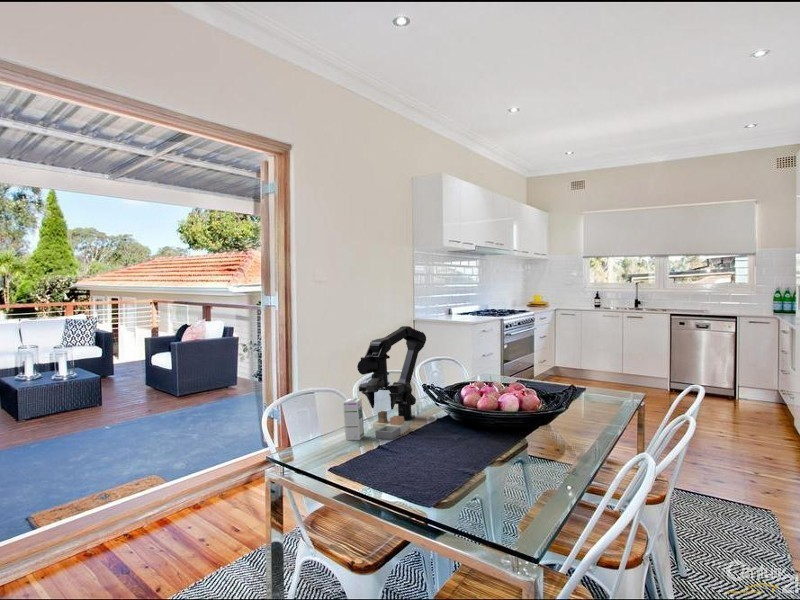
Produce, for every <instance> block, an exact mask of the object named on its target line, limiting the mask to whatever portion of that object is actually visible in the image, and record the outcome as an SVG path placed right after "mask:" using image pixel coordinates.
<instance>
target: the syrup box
mask: <svg viewBox="0 0 800 600" xmlns="http://www.w3.org/2000/svg"><path fill="white" fill-rule="evenodd" d="M362 401H363V400H362V398H359V397H358V398H347V400H345V401H343V402H342V407H343V417H344V418H343V420H344V433H345V435H344V436H345V441H360V440H361V439H362V438H363V437H364V436H365V430H364V429H365V428H364V414H363V402H362Z"/></svg>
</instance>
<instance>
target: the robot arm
mask: <svg viewBox="0 0 800 600" xmlns="http://www.w3.org/2000/svg"><path fill="white" fill-rule="evenodd" d="M403 339H404V340H405V341H406V342H405V343H406V344H405V345H406V348H407V349H406V350H407V351H406V355H405V358H404V362H403V365H402V370H401V373H400V376H399V379H398V380H397V382H395V381H394V382H393V383H392V384H390V383H391V382H390V381H388V379H389V378H388V376H389V375H390V371H389V372H388V361H387V359H390V358H391V356H390V355H389V354H387V353H388V352H390V351H391V349H392V346H394V345H395V344H397V343H399V342H400V341H402V340H403ZM426 341H427V336H426V334H425V333H424V332H423V331H420V330H417V329H415V328H413V327H411V326H408V325H405V326H404V325H402V326H400V327H399V328H398V329H396V330H394V331H392V332H391V333H390V334H388V335H386V336H384V337H380V338H376V339H373V340H371V341H370V342H369V346H368V348H367V350H366V353H365V356H360V360H359V362H358V363H357V371H358V373H359V374H361V375H368V374H371V378H370V379H369V380H368V381H367V382H364V383H361V384H359V385H358V392H361V394H363V395H364V396H366V399H367V400H368V402H369V404H370V407H371V409H374V408H375V393H378V392H379V391H388V392H389V393H388V395H389V397H390V410H394V409H395V406H396V405H397V413H398V415H397V416H404V421H410V420H411V419H413V417H414V418H415V417H416V415H412V406H414V405H415V404H416V401H417V398H416V397H415V396H414V394H412V392H413V389H412V385H411V384H412V383H411V382H412V377H413V374H414V370H415V366H416V363H417V360H418V355H419V353H420V352H421V350H423V348H424V347H425V345H426Z"/></svg>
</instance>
